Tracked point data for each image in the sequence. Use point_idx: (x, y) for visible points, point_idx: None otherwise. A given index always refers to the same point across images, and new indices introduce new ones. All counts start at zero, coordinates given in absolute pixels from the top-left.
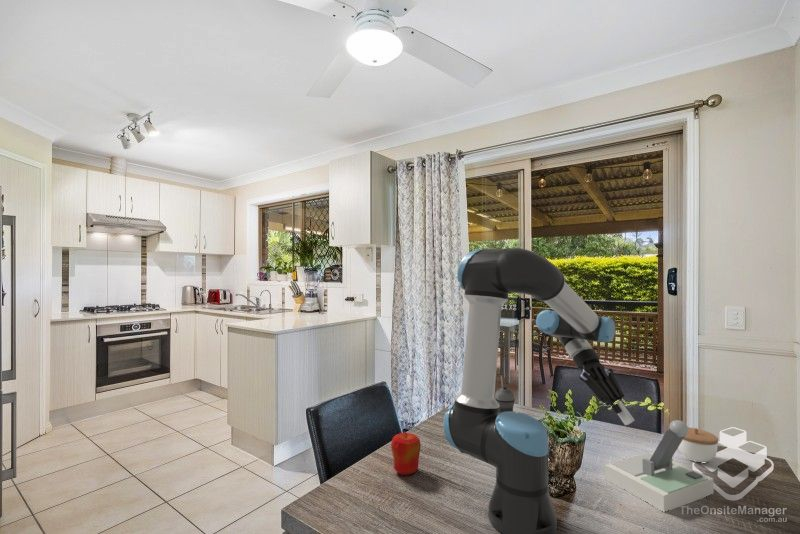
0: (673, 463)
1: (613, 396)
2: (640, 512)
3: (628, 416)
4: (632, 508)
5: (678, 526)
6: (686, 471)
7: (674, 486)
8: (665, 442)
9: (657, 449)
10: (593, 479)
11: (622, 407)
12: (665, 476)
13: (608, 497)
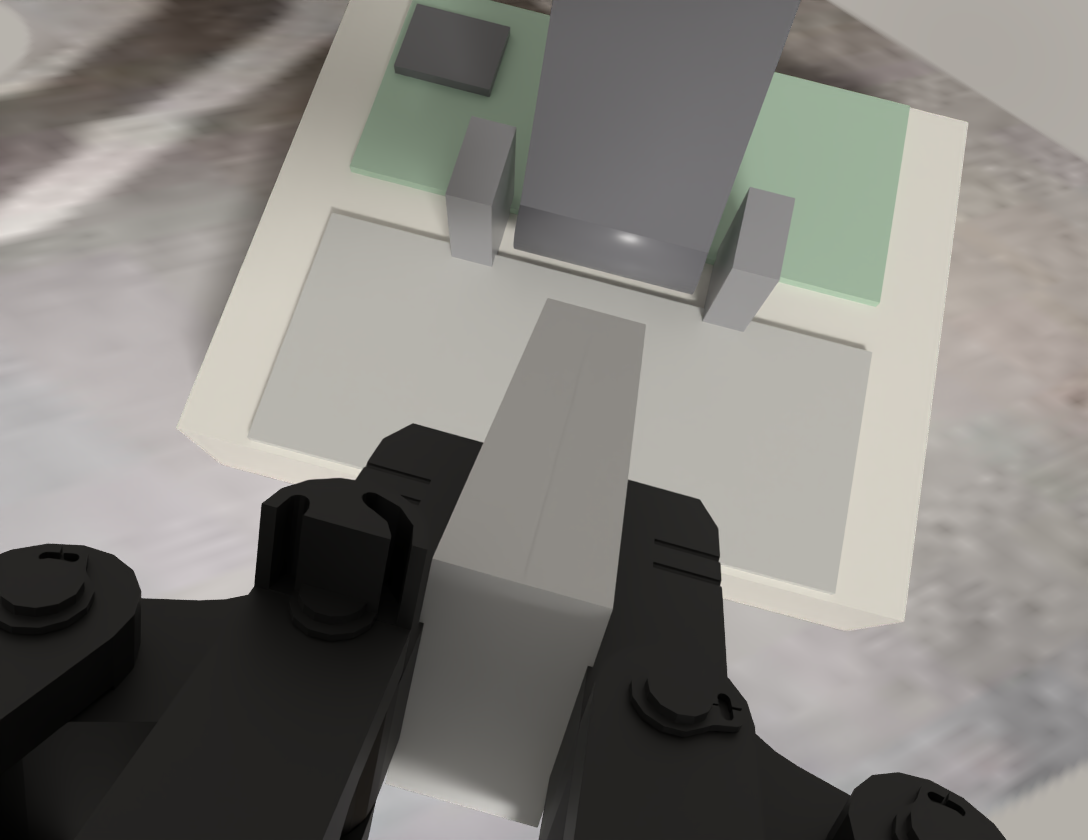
0: (308, 222)
1: (601, 749)
2: (1045, 281)
3: (632, 355)
4: (1050, 329)
5: (979, 102)
6: (416, 106)
7: (779, 100)
8: None
9: (770, 74)
10: (937, 700)
11: (605, 455)
12: None
13: (1077, 490)
